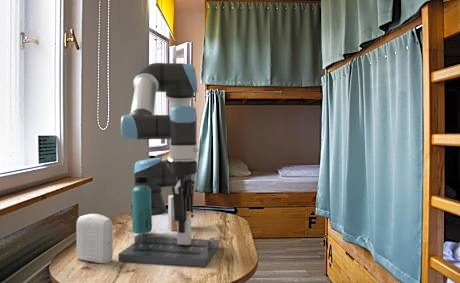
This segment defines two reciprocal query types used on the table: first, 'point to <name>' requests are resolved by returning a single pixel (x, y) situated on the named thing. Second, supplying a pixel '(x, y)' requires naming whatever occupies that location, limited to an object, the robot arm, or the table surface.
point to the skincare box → (171, 214)
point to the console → (170, 251)
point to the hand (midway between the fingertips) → (184, 241)
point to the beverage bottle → (141, 207)
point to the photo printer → (94, 238)
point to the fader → (188, 217)
